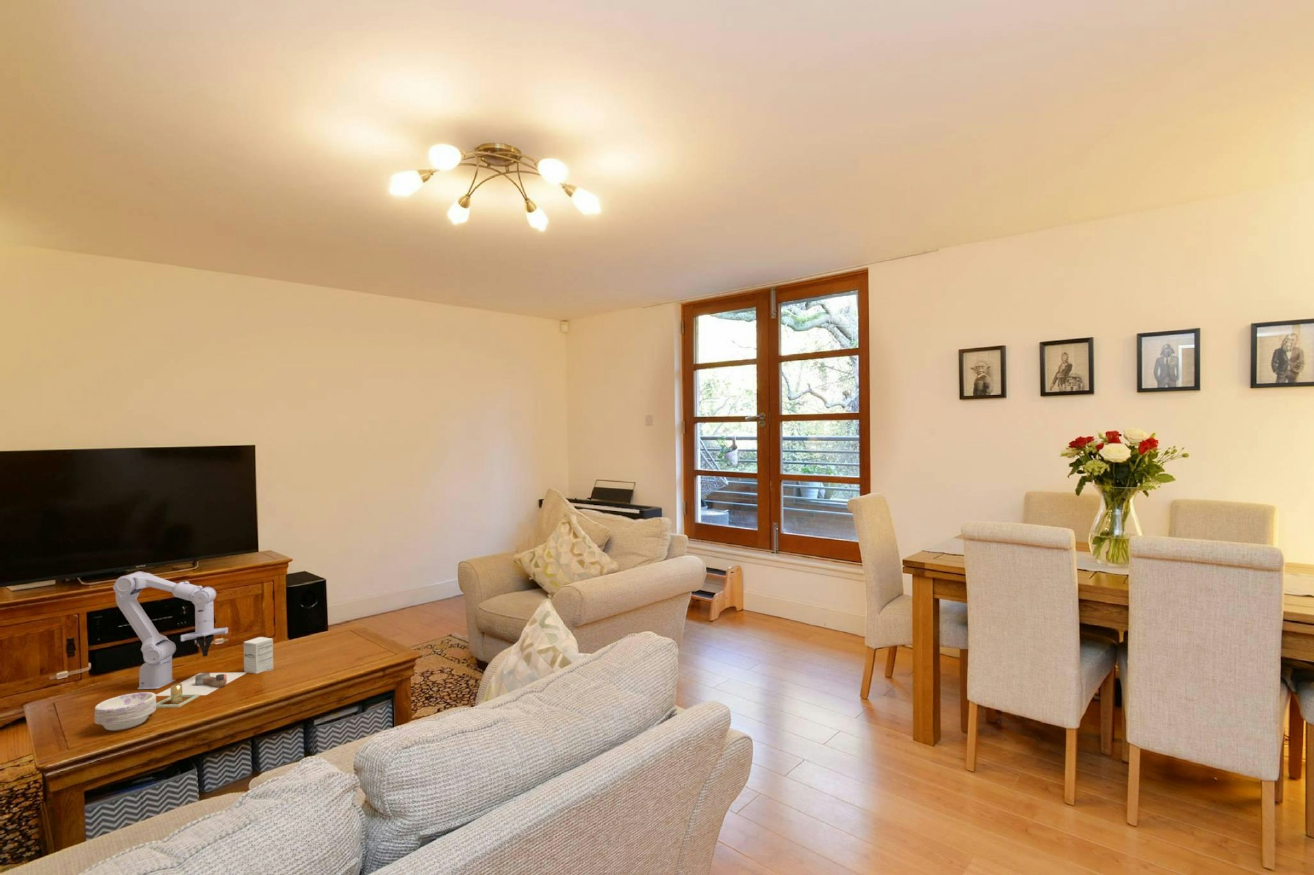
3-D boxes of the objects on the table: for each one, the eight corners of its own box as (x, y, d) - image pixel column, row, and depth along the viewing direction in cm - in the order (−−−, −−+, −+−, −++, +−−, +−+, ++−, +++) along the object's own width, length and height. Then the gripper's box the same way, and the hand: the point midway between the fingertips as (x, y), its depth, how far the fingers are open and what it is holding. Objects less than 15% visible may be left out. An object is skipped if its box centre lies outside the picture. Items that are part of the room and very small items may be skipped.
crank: (192, 684, 232) (192, 673, 232) (204, 680, 236) (204, 669, 236) (216, 688, 227) (216, 677, 227) (228, 684, 231) (228, 673, 231)
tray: (152, 710, 212) (152, 705, 212) (173, 698, 221) (173, 694, 221) (178, 709, 212) (178, 705, 212) (199, 698, 221) (199, 694, 221)
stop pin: (168, 704, 215) (168, 687, 215) (176, 700, 218) (176, 683, 218) (176, 704, 215) (176, 687, 215) (184, 700, 218) (184, 683, 218)
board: (153, 698, 222) (153, 695, 222) (199, 675, 244) (199, 673, 244) (206, 697, 222) (206, 695, 222) (247, 674, 244) (247, 672, 244)
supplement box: (243, 673, 245) (242, 641, 245) (261, 667, 252) (260, 636, 252) (256, 676, 242) (255, 643, 242) (274, 669, 249) (273, 638, 249)
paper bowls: (154, 710, 212) (154, 687, 212) (158, 724, 201) (158, 699, 201) (94, 724, 201) (93, 700, 202) (95, 740, 190) (94, 714, 190)
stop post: (217, 685, 231) (217, 676, 231) (221, 682, 234) (221, 674, 234) (223, 685, 231) (223, 676, 231) (228, 682, 234) (228, 674, 234)
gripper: (181, 626, 230) (181, 663, 230) (228, 618, 239) (229, 654, 239) (180, 622, 235) (180, 658, 235) (226, 614, 244) (227, 649, 244)
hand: (205, 655), depth 237 cm, fingers closed
